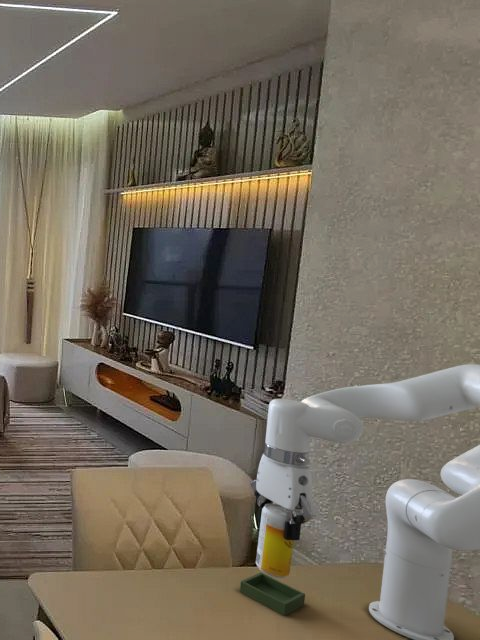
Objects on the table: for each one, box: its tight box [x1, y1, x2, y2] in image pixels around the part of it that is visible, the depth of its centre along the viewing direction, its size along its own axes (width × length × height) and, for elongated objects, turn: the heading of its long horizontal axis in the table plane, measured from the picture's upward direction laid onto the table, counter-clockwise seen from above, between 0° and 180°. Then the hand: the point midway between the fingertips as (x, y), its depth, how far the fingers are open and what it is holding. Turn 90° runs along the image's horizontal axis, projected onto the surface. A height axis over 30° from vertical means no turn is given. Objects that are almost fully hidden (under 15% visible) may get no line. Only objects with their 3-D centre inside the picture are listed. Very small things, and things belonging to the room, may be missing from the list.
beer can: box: [255, 503, 296, 579], centre depth 123 cm, size 6×6×15 cm
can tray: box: [239, 571, 306, 616], centre depth 123 cm, size 9×9×3 cm
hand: (277, 530), depth 122 cm, fingers closed on beer can, 6 cm apart
